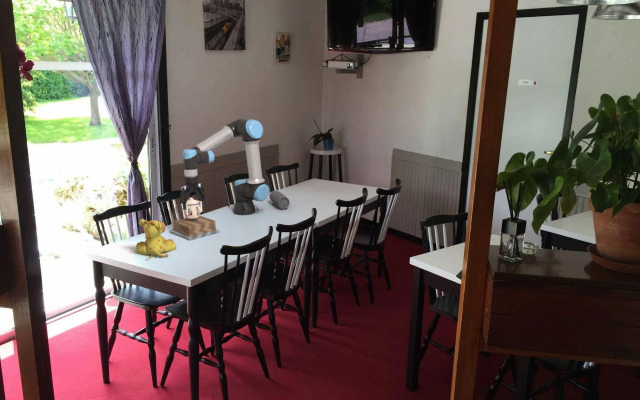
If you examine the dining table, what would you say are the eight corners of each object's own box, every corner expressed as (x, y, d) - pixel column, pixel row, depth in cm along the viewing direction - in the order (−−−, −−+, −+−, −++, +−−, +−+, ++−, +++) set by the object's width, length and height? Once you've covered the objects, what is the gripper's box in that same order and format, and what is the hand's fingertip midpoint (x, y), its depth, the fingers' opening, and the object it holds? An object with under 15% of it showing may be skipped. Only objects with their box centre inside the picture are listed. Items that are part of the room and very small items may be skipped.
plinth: (199, 225, 328) (199, 214, 326) (219, 232, 314) (218, 220, 312) (170, 233, 313) (169, 221, 312) (189, 240, 299) (188, 228, 297)
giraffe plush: (178, 245, 291) (176, 212, 287) (169, 260, 269) (167, 224, 264) (141, 246, 290) (138, 213, 286) (129, 261, 267) (125, 225, 263)
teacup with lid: (181, 217, 311) (180, 198, 308) (193, 214, 318) (191, 195, 316) (195, 220, 304) (193, 201, 302) (206, 216, 312) (205, 198, 309)
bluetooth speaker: (290, 209, 365) (290, 195, 363) (278, 211, 362) (277, 197, 360) (281, 202, 386) (280, 189, 384) (268, 203, 383) (268, 190, 380)
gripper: (178, 179, 295) (180, 217, 301) (210, 174, 310) (212, 210, 316) (171, 177, 300) (173, 215, 306) (203, 172, 315) (205, 208, 321)
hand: (193, 213), depth 311 cm, fingers closed on teacup with lid, 9 cm apart
